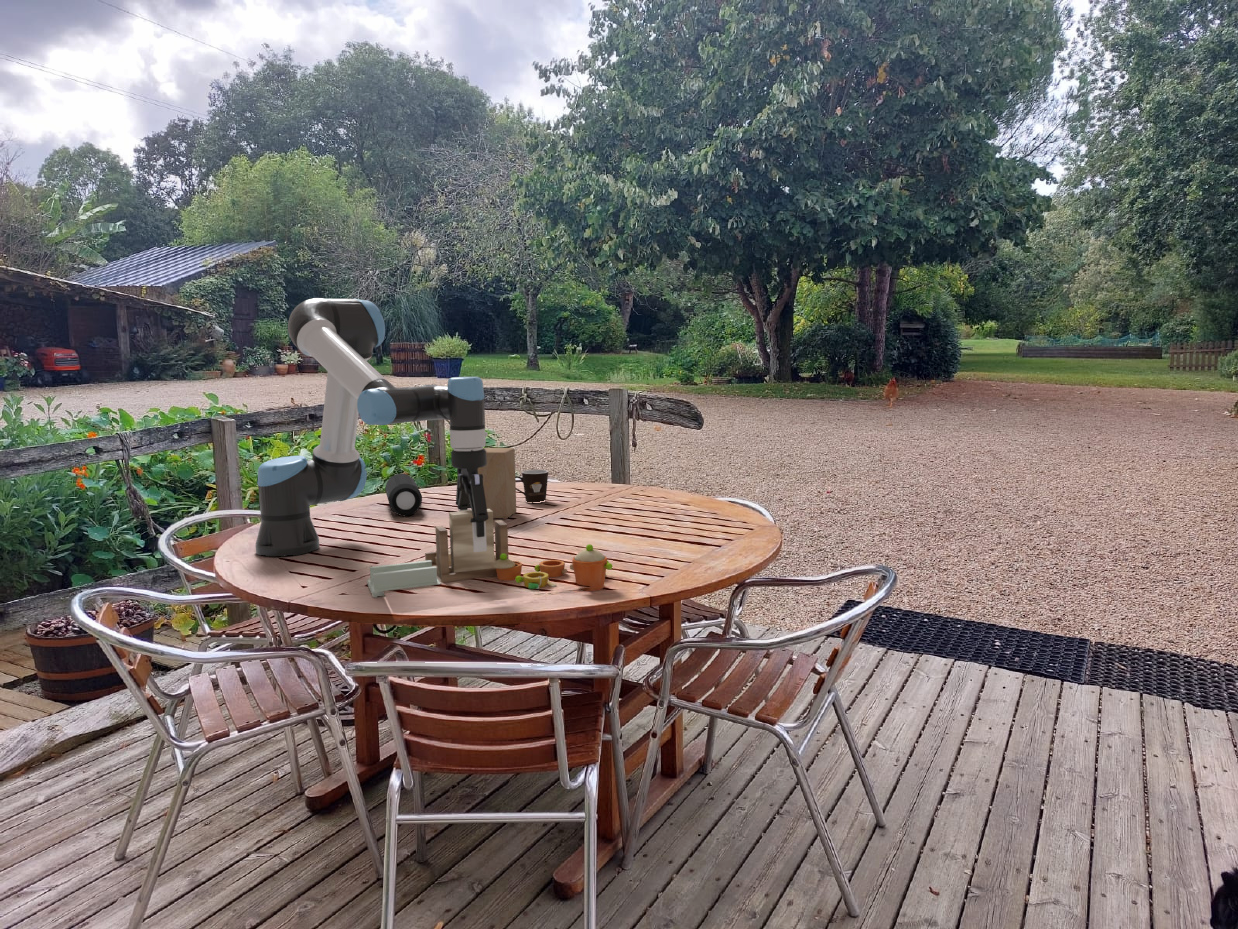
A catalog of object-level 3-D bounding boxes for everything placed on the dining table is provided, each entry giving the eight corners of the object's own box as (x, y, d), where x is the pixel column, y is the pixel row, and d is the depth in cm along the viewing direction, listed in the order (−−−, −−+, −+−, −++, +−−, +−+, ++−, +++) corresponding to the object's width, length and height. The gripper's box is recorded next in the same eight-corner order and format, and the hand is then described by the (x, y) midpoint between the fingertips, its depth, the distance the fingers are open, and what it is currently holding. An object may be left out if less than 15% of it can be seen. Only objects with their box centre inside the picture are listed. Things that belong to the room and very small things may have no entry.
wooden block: (516, 512, 256) (515, 447, 253) (506, 519, 246) (504, 452, 243) (485, 511, 258) (483, 447, 255) (474, 518, 248) (472, 451, 245)
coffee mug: (552, 499, 275) (551, 470, 274) (544, 504, 267) (543, 474, 266) (519, 498, 278) (518, 469, 277) (510, 503, 270) (509, 473, 268)
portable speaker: (385, 503, 273) (384, 473, 272) (416, 501, 276) (415, 471, 275) (389, 519, 249) (388, 486, 248) (423, 516, 252) (422, 483, 251)
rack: (425, 567, 194) (423, 516, 193) (492, 560, 200) (491, 510, 199) (440, 587, 178) (437, 532, 177) (512, 578, 185) (511, 525, 183)
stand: (367, 585, 181) (366, 565, 181) (432, 577, 187) (431, 558, 186) (373, 597, 172) (372, 577, 171) (441, 589, 178) (440, 569, 177)
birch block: (451, 574, 184) (448, 512, 182) (491, 569, 188) (489, 508, 186) (454, 578, 181) (451, 515, 179) (495, 573, 185) (492, 511, 183)
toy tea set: (606, 572, 191) (605, 530, 189) (620, 591, 176) (620, 547, 174) (491, 580, 185) (489, 537, 184) (495, 601, 170) (494, 555, 169)
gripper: (500, 453, 170) (504, 555, 173) (472, 441, 193) (476, 531, 196) (464, 456, 168) (468, 559, 171) (439, 443, 190) (444, 534, 193)
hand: (472, 544), depth 183 cm, fingers open, 13 cm apart
